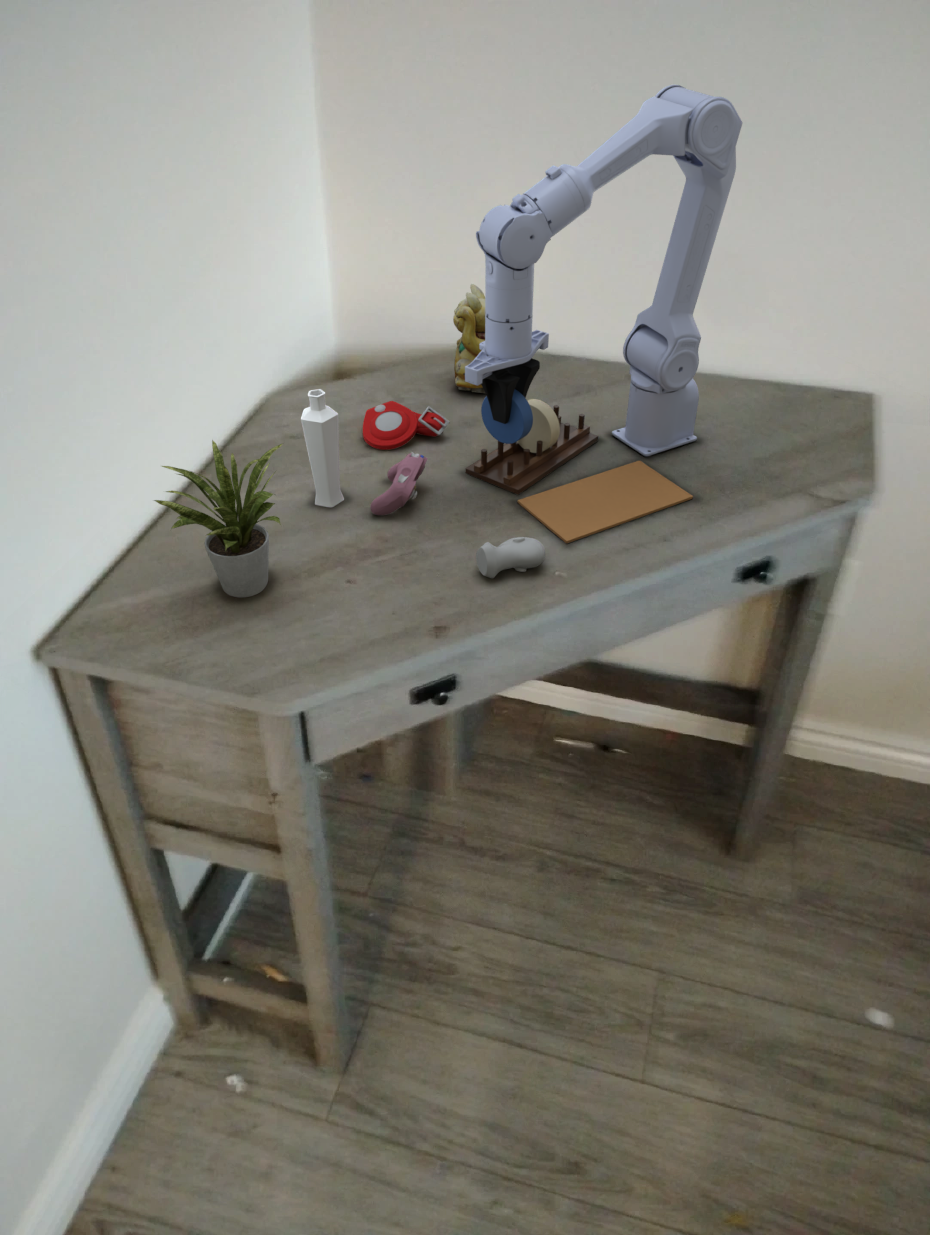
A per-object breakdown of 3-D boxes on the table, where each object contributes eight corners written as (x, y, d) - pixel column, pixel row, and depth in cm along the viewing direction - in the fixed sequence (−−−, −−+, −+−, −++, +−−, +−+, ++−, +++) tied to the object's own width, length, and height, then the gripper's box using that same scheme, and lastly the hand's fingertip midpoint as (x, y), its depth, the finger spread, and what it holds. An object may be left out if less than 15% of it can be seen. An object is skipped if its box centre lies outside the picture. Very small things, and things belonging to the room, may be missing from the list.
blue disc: (490, 429, 125) (490, 380, 121) (532, 445, 122) (534, 395, 117) (481, 434, 124) (480, 385, 119) (523, 450, 120) (524, 400, 116)
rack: (546, 422, 138) (548, 398, 135) (598, 440, 133) (600, 416, 131) (465, 473, 127) (464, 448, 124) (518, 495, 122) (518, 469, 120)
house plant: (250, 530, 116) (228, 410, 106) (334, 566, 110) (320, 442, 100) (161, 587, 107) (128, 462, 97) (248, 630, 101) (222, 501, 91)
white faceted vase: (352, 493, 123) (341, 387, 113) (338, 510, 120) (326, 402, 110) (320, 487, 124) (307, 382, 114) (306, 504, 121) (291, 397, 111)
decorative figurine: (457, 370, 152) (456, 278, 142) (508, 372, 151) (509, 279, 142) (450, 396, 144) (448, 300, 135) (503, 398, 144) (505, 302, 134)
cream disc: (517, 438, 132) (519, 392, 127) (558, 454, 128) (561, 407, 124) (509, 444, 130) (510, 398, 126) (550, 459, 127) (552, 412, 122)
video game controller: (398, 530, 119) (420, 490, 114) (365, 513, 118) (387, 472, 113) (416, 490, 126) (437, 451, 122) (386, 474, 125) (407, 434, 121)
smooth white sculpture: (536, 561, 112) (550, 573, 108) (472, 570, 111) (484, 583, 106) (534, 526, 111) (549, 537, 106) (469, 535, 109) (481, 547, 104)
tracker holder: (371, 450, 129) (348, 405, 135) (378, 471, 133) (355, 427, 138) (451, 418, 131) (425, 375, 136) (455, 440, 134) (430, 397, 140)
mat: (639, 462, 128) (639, 460, 128) (692, 498, 121) (693, 496, 121) (517, 502, 121) (517, 500, 120) (566, 543, 113) (566, 541, 113)
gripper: (518, 290, 118) (516, 389, 127) (444, 324, 110) (447, 428, 118) (564, 302, 115) (558, 404, 123) (491, 339, 106) (490, 445, 115)
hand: (506, 417), depth 121 cm, fingers closed on blue disc, 2 cm apart
